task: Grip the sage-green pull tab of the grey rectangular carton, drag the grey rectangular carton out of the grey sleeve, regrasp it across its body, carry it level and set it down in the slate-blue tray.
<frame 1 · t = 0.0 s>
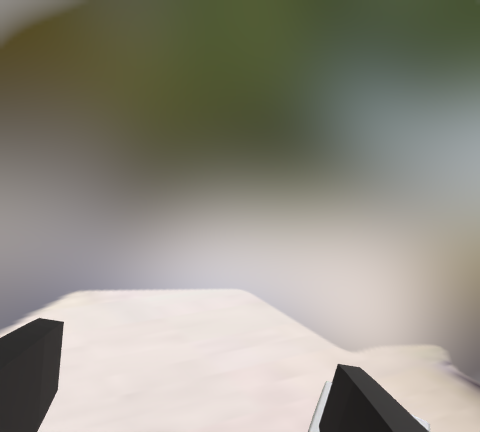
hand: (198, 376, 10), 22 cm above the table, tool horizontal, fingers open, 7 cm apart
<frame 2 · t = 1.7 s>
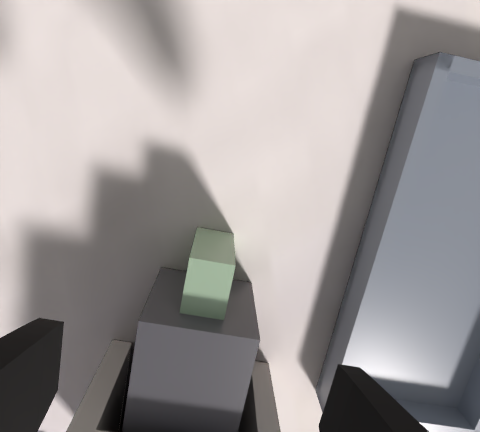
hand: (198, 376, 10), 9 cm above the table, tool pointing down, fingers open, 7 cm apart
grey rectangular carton: (193, 343, 20), on the table
sleeve: (181, 405, 21), on the table
tray: (439, 259, 19), on the table
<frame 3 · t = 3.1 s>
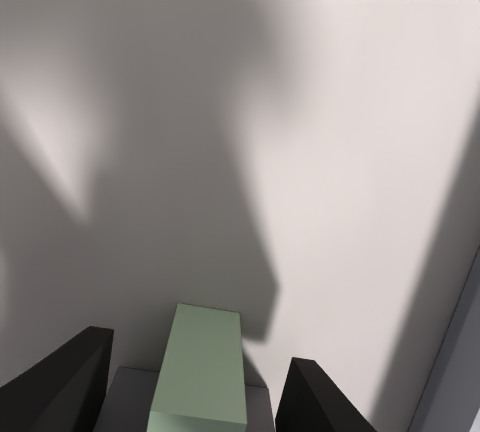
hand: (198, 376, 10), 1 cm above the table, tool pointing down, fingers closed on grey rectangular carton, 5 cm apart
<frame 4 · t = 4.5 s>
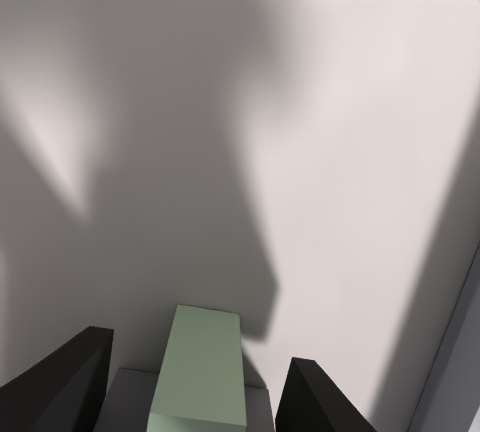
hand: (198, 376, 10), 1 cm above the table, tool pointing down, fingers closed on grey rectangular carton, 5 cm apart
when the fingers open (1 cm above the table, at t = 6.1 s): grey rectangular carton stays where it is, on the table.
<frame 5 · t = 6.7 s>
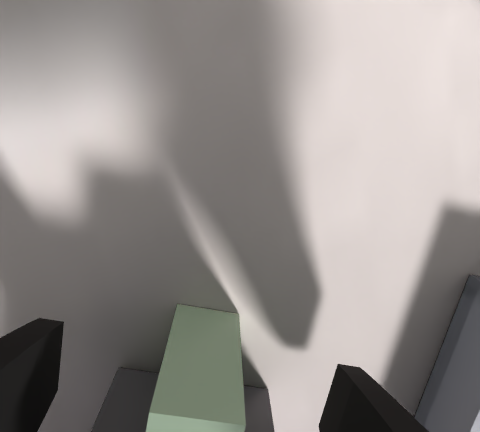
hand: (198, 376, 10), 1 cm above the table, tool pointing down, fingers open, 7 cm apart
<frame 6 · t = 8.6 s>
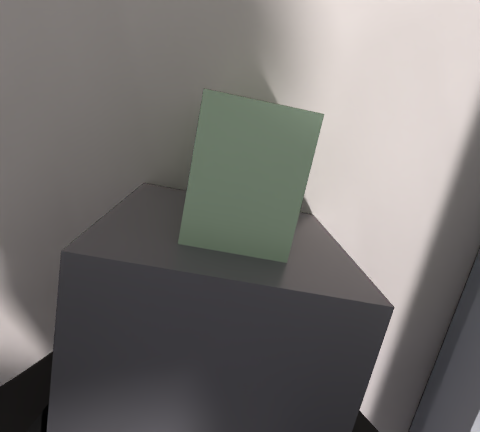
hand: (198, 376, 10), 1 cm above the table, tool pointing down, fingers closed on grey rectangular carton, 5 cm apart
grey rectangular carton: (204, 329, 11), on the table, touching gripper
when the fingers open (3 cm above the table, at t = 12.7 s): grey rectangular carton stays where it is, resting on tray.
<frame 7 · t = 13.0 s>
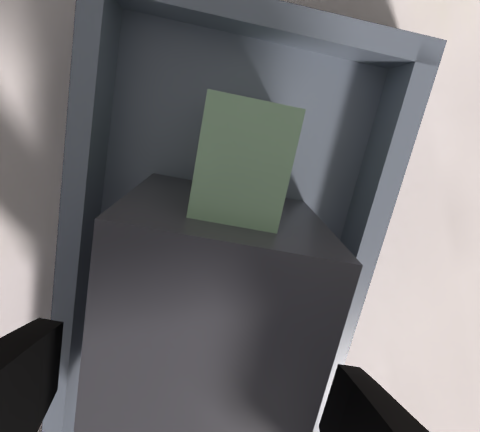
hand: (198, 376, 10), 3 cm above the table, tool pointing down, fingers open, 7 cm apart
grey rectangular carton: (207, 306, 12), resting on tray
tray: (207, 299, 13), on the table
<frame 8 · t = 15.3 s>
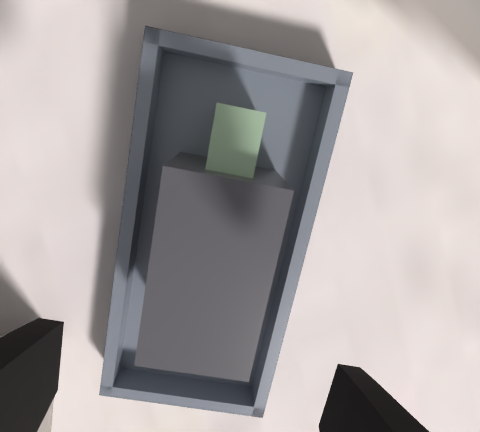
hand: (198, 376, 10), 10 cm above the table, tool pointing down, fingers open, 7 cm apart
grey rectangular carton: (213, 239, 18), resting on tray
tray: (214, 237, 19), on the table
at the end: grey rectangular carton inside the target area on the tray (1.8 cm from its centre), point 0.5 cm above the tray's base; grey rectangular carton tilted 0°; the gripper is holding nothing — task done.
